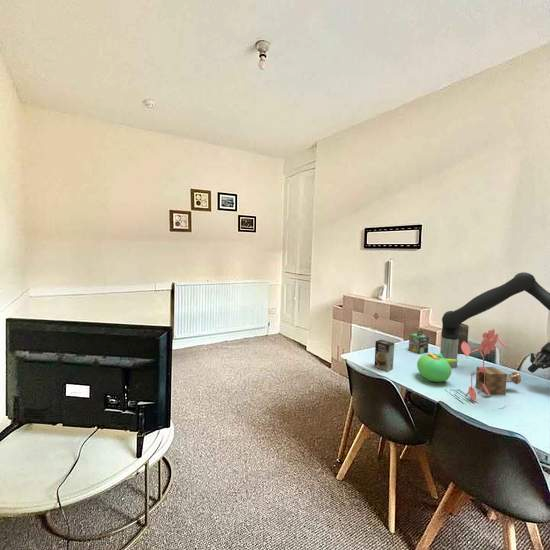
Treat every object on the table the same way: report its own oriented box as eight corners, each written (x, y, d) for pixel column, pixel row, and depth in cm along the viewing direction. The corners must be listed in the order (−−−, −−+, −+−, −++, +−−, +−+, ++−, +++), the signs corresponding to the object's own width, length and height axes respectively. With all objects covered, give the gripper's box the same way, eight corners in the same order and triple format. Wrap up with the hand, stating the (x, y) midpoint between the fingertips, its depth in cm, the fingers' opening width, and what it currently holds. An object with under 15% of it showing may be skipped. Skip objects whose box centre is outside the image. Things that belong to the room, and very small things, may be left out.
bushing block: (487, 394, 156) (489, 374, 155) (475, 386, 165) (476, 366, 164) (505, 394, 156) (507, 374, 155) (492, 386, 165) (493, 366, 164)
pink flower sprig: (451, 398, 152) (457, 327, 147) (486, 389, 162) (494, 323, 157) (482, 415, 138) (491, 337, 133) (519, 404, 147) (528, 332, 143)
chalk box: (417, 348, 225) (418, 328, 223) (428, 352, 216) (429, 331, 215) (407, 350, 221) (409, 329, 219) (418, 354, 213) (419, 332, 211)
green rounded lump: (410, 373, 181) (412, 348, 180) (438, 372, 183) (440, 347, 181) (428, 387, 163) (430, 360, 162) (459, 386, 165) (461, 359, 163)
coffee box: (373, 367, 190) (374, 341, 188) (379, 364, 194) (380, 339, 192) (387, 372, 183) (389, 344, 181) (393, 369, 187) (394, 342, 185)
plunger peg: (497, 385, 158) (498, 375, 157) (489, 381, 163) (490, 370, 163) (520, 385, 158) (521, 375, 157) (511, 380, 164) (512, 370, 163)
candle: (456, 349, 222) (458, 322, 220) (468, 352, 217) (470, 324, 215) (453, 352, 217) (455, 323, 215) (465, 355, 212) (467, 326, 210)
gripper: (539, 338, 166) (514, 361, 167) (563, 346, 153) (536, 371, 154) (548, 348, 167) (523, 370, 167) (572, 357, 153) (545, 381, 154)
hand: (529, 371), depth 160 cm, fingers closed
